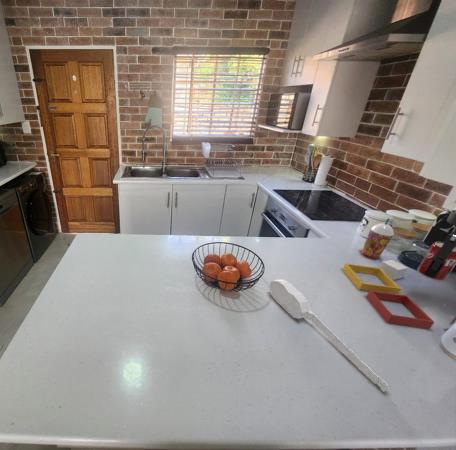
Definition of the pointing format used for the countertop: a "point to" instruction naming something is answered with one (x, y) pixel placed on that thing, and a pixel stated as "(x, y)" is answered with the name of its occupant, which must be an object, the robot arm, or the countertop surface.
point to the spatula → (316, 323)
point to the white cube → (393, 269)
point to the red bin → (420, 320)
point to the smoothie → (377, 240)
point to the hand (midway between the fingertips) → (431, 272)
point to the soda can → (451, 261)
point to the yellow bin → (389, 288)
